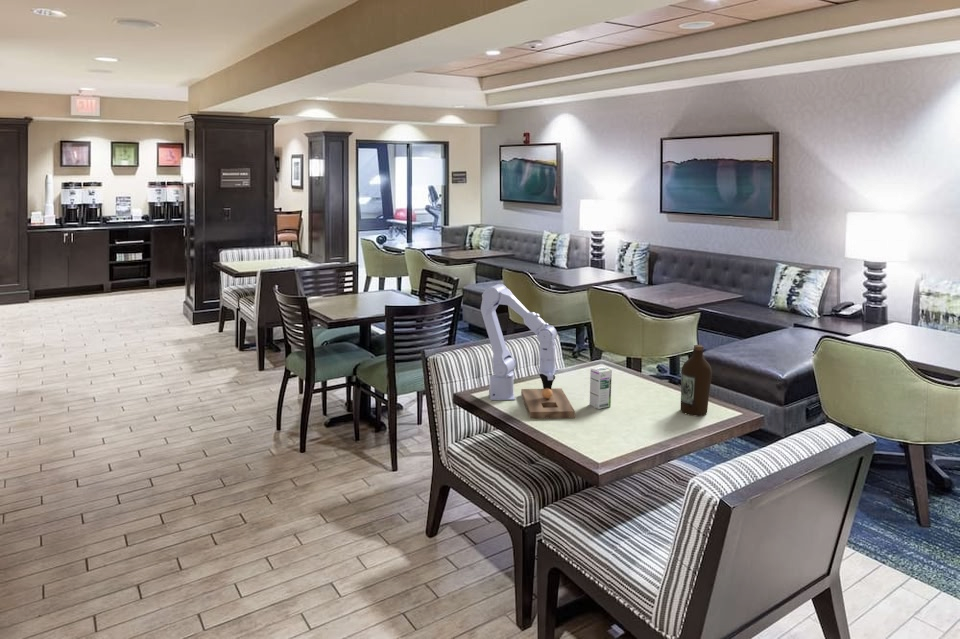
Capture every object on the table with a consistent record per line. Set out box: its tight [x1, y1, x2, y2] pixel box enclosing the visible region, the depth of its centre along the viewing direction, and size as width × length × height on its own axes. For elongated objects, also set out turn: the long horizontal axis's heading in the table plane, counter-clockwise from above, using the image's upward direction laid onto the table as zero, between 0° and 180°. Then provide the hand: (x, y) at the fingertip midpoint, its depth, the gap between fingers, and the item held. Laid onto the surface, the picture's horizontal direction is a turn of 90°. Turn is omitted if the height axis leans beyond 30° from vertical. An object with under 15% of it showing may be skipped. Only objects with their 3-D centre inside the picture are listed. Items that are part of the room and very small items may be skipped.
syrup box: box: [589, 366, 613, 410], centre depth 252 cm, size 6×6×14 cm
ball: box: [542, 388, 552, 399], centre depth 254 cm, size 4×4×4 cm
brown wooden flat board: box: [520, 387, 576, 419], centre depth 253 cm, size 16×26×2 cm, turn 4°
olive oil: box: [679, 344, 713, 416], centre depth 245 cm, size 11×11×25 cm
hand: (547, 393), depth 256 cm, fingers closed, pressing on ball
